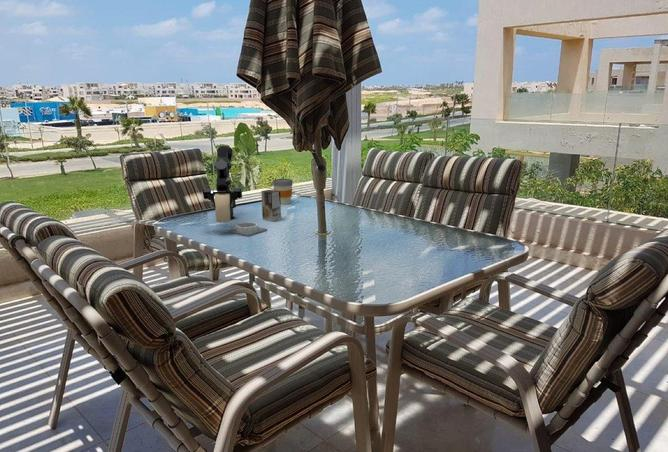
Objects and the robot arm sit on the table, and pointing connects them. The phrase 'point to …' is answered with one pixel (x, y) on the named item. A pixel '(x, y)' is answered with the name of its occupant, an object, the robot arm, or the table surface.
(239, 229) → the ring holder
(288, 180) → the reusable coffee cup
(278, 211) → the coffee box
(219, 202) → the kraft roll
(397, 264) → the table surface
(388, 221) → the table surface
